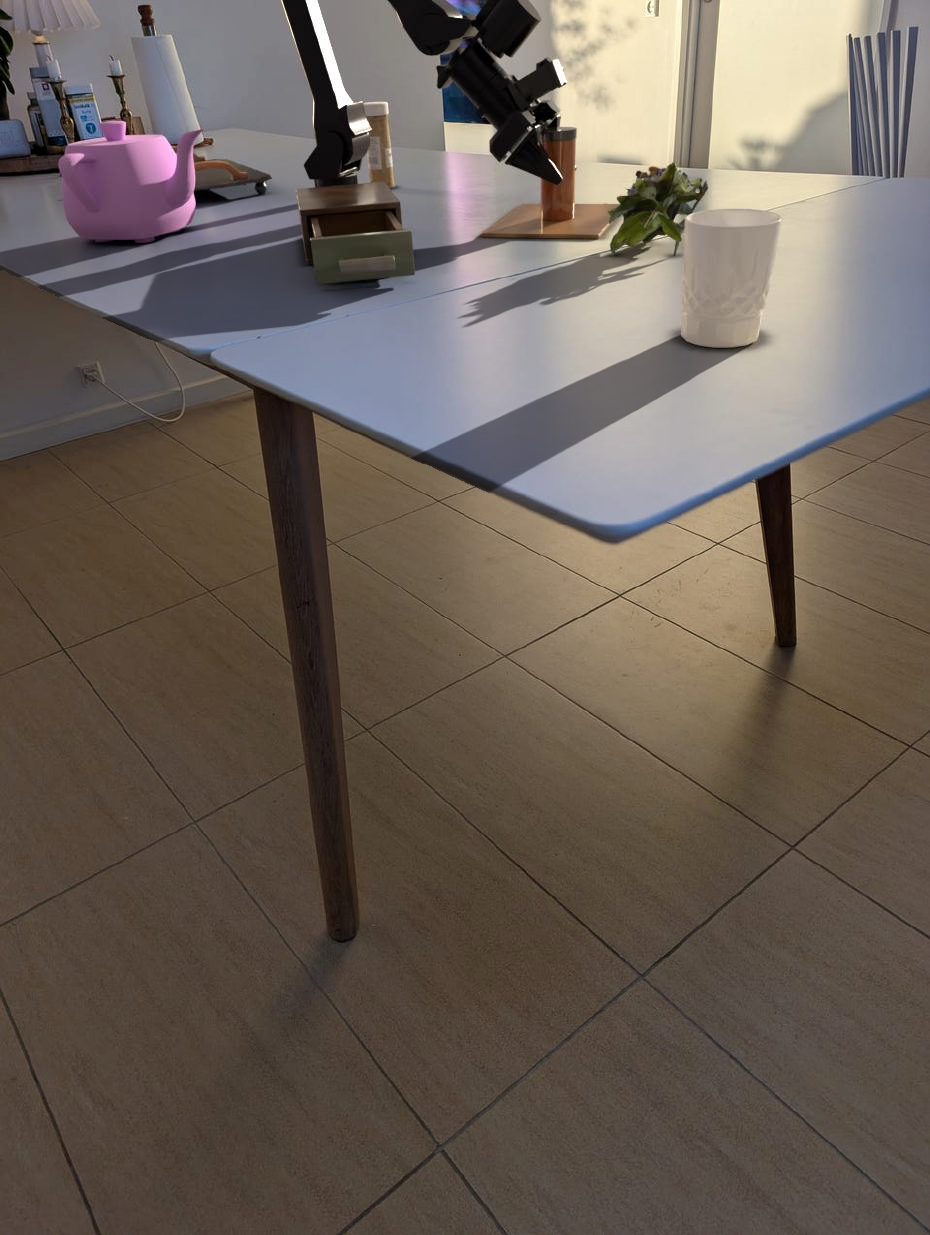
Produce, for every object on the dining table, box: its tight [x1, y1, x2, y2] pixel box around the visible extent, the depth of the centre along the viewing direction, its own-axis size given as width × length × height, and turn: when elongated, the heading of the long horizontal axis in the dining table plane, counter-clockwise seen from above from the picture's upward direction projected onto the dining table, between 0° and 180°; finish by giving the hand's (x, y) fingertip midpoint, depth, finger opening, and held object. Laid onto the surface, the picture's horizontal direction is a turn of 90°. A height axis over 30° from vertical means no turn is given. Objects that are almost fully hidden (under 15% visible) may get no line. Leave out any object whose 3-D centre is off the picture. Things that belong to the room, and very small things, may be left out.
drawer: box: [310, 209, 416, 285], centre depth 104 cm, size 21×11×5 cm, turn 11°
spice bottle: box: [540, 126, 578, 221], centre depth 123 cm, size 5×5×11 cm
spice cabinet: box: [295, 182, 403, 266], centre depth 118 cm, size 17×12×6 cm
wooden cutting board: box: [481, 203, 620, 240], centre depth 127 cm, size 16×22×1 cm
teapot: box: [58, 120, 205, 244], centre depth 127 cm, size 23×21×15 cm
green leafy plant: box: [608, 161, 709, 257], centre depth 107 cm, size 11×11×12 cm
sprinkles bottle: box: [363, 101, 395, 189], centre depth 156 cm, size 5×5×14 cm
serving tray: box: [171, 145, 273, 196], centre depth 167 cm, size 39×23×6 cm, turn 28°
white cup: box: [680, 208, 783, 349], centre depth 77 cm, size 8×8×10 cm
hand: (567, 176), depth 123 cm, fingers open, 9 cm apart
